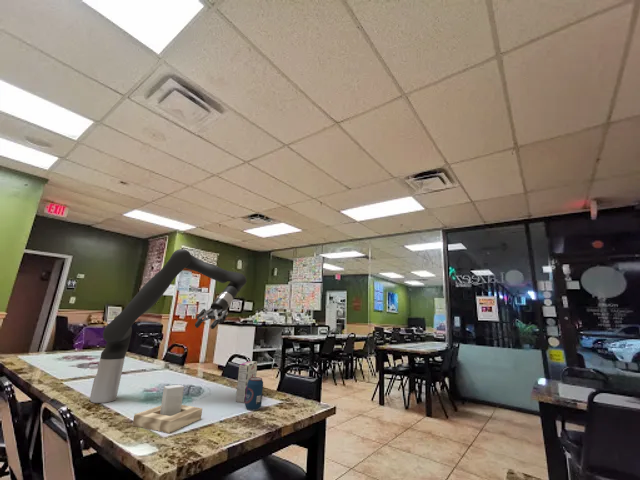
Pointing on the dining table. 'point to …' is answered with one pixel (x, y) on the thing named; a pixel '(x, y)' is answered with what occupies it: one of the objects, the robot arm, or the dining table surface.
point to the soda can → (254, 393)
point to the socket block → (166, 419)
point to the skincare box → (172, 400)
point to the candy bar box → (245, 379)
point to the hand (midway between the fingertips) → (203, 327)
